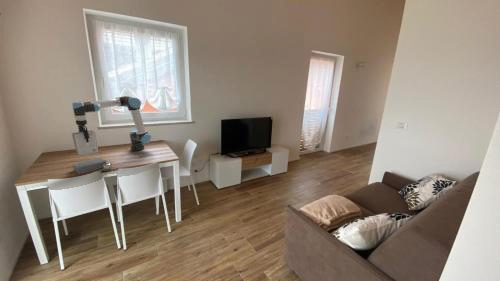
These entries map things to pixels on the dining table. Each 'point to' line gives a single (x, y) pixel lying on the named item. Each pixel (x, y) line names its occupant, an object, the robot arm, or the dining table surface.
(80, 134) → the hard drive box
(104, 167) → the metal tin
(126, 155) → the dining table surface
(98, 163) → the stand
